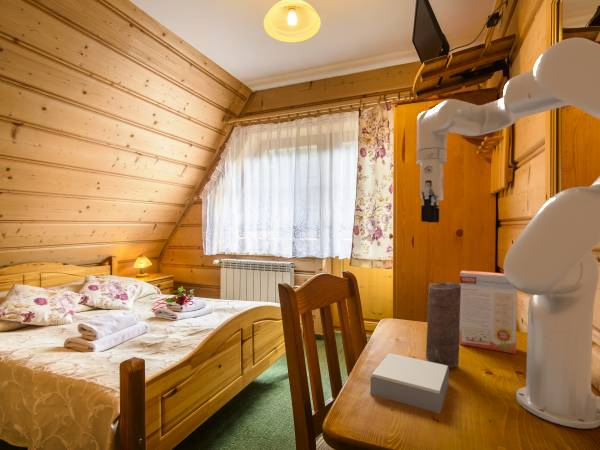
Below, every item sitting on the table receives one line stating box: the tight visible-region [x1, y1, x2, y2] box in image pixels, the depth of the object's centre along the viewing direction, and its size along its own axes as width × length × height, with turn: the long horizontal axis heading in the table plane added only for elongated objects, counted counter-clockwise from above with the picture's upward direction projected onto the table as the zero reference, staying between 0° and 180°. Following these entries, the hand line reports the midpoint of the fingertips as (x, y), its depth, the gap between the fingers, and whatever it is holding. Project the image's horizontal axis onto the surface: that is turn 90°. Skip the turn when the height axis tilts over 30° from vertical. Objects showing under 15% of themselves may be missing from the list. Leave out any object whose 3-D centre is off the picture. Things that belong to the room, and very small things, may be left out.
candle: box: [425, 282, 461, 369], centre depth 80 cm, size 8×7×20 cm
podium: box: [369, 352, 450, 415], centre depth 68 cm, size 13×13×4 cm
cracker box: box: [459, 270, 518, 355], centre depth 94 cm, size 14×6×21 cm, turn 59°
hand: (430, 222), depth 88 cm, fingers open, 9 cm apart
